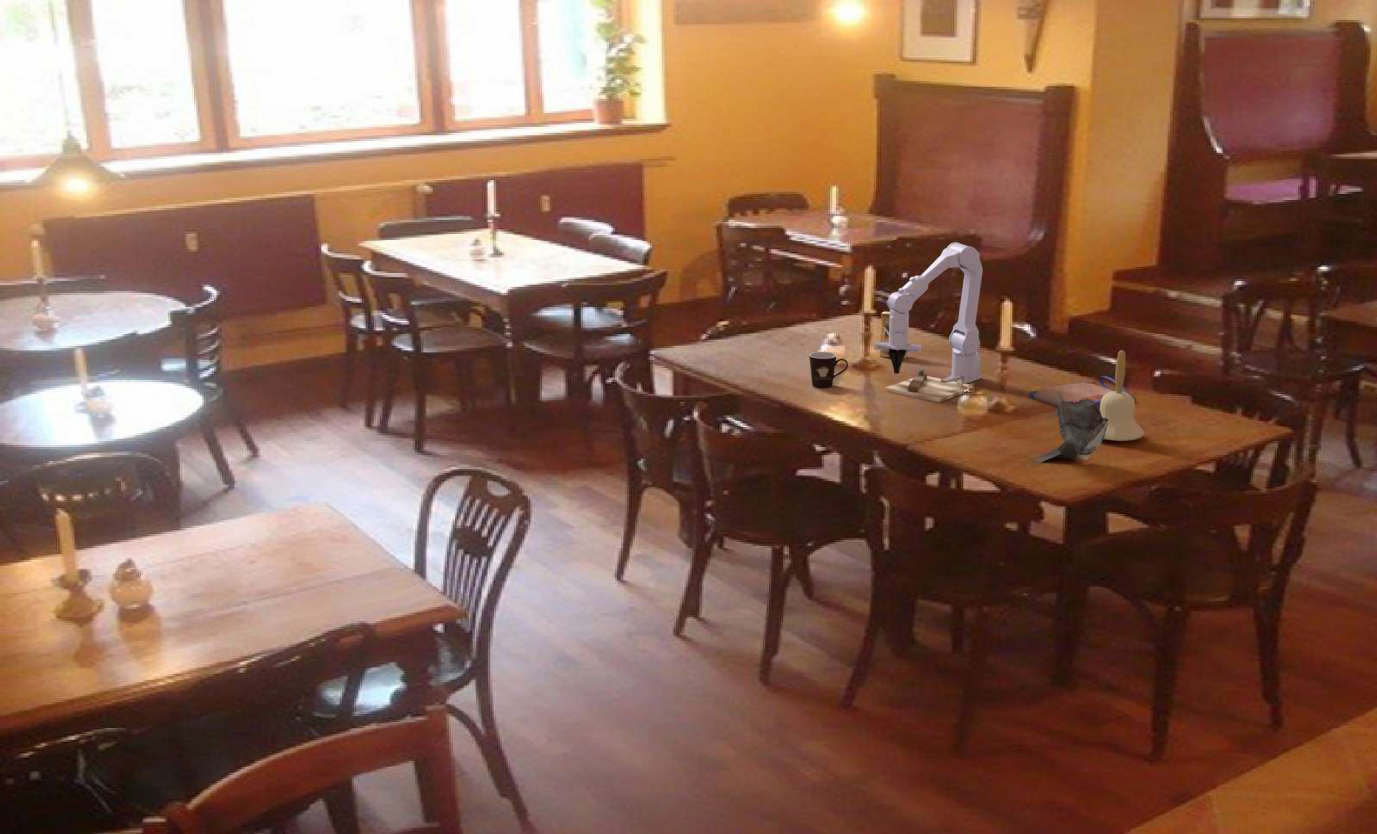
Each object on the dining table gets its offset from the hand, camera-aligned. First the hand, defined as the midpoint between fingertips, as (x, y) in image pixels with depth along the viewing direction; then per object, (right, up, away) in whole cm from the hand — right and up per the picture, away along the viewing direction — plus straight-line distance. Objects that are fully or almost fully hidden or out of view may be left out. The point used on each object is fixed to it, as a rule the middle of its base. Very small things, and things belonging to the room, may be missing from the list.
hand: (896, 372), depth 440 cm
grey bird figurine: (+36, -26, -71) cm, 83 cm away
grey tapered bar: (+6, -4, 0) cm, 7 cm away
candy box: (+5, +7, +38) cm, 39 cm away
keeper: (+17, -6, -4) cm, 18 cm away
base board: (+10, -5, -2) cm, 12 cm away
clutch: (+55, -9, -14) cm, 58 cm away
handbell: (+53, -20, -51) cm, 76 cm away
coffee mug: (-22, -4, +3) cm, 22 cm away
